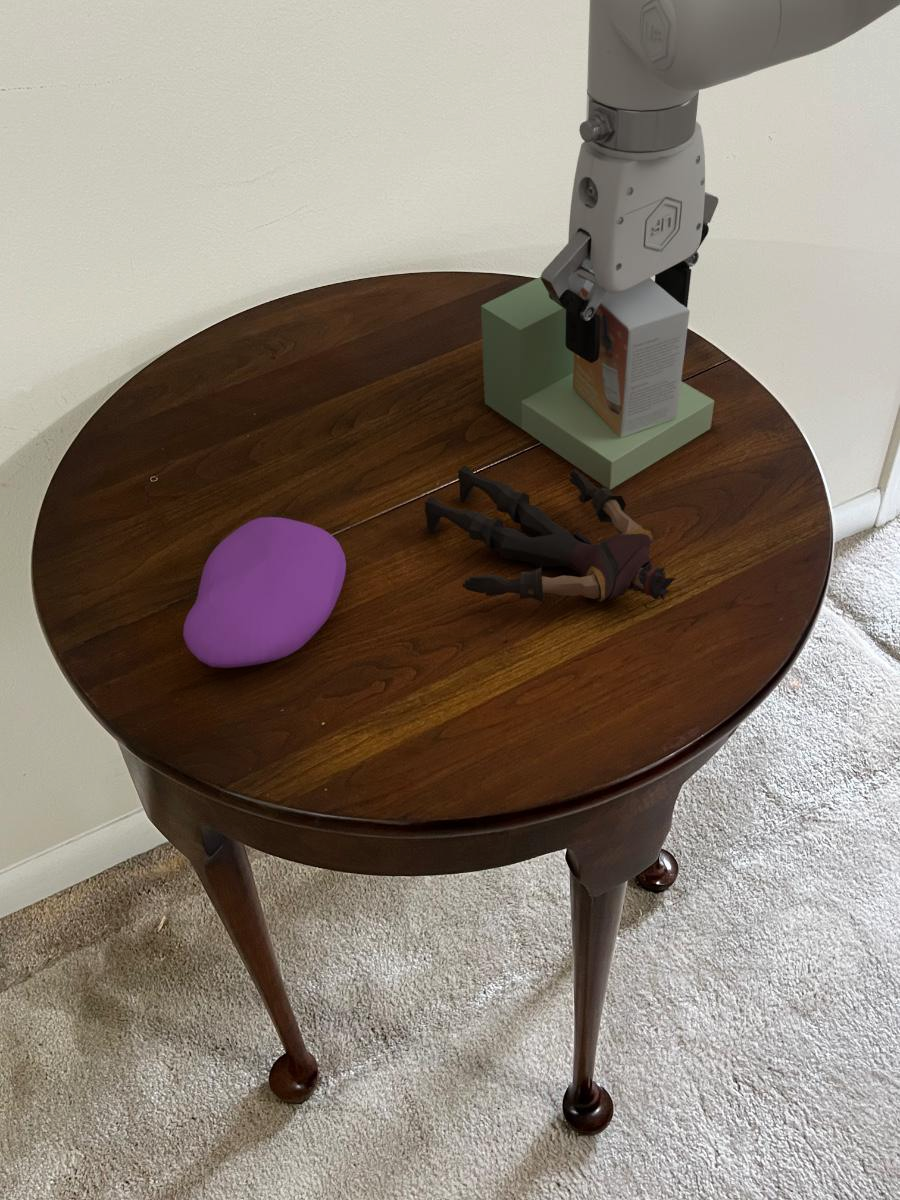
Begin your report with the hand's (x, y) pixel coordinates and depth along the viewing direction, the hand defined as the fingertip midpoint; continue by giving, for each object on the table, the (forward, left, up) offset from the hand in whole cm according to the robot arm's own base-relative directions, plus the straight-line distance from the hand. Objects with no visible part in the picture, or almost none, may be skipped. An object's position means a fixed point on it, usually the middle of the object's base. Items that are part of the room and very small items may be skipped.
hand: (626, 330), depth 90 cm
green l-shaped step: (+3, 0, -10) cm, 11 cm away
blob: (+2, +35, -10) cm, 37 cm away
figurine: (-8, +15, -10) cm, 20 cm away
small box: (0, 0, -7) cm, 7 cm away
